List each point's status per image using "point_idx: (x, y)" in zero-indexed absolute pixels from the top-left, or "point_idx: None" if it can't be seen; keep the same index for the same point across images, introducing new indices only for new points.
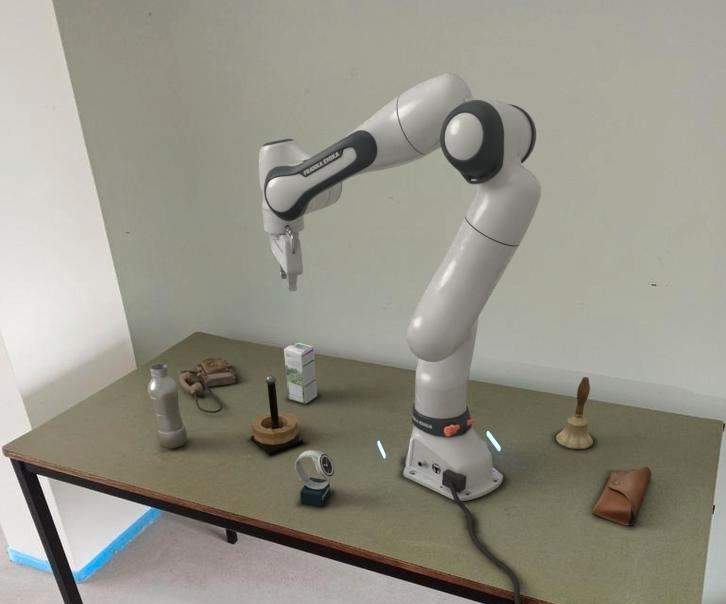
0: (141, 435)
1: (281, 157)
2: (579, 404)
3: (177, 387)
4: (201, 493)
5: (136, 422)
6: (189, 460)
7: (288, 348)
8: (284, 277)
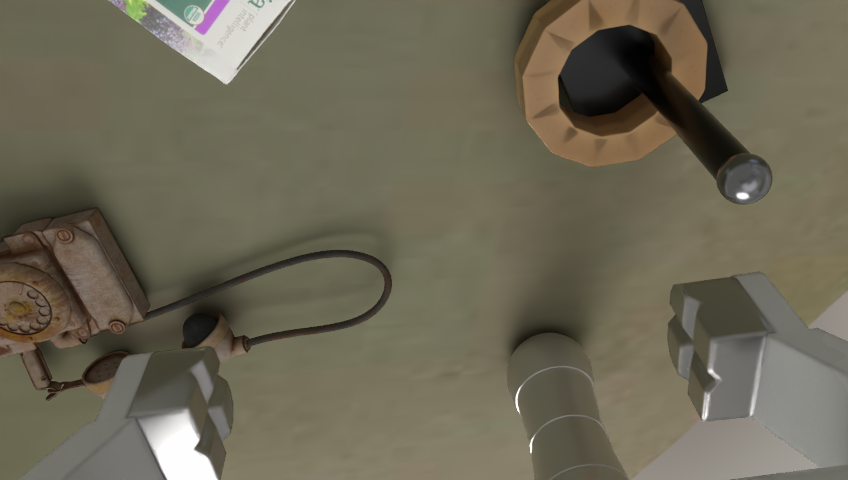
0: (465, 429)
1: None
2: None
3: (596, 478)
4: (837, 268)
5: (383, 449)
6: (648, 310)
7: (218, 56)
8: (218, 391)
